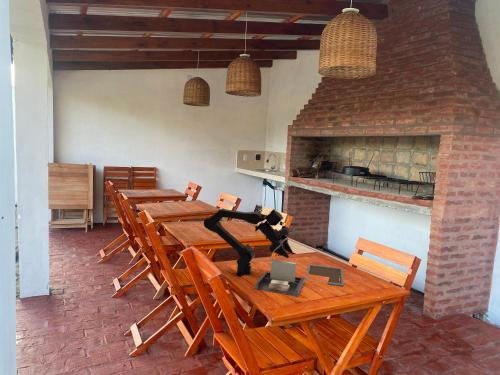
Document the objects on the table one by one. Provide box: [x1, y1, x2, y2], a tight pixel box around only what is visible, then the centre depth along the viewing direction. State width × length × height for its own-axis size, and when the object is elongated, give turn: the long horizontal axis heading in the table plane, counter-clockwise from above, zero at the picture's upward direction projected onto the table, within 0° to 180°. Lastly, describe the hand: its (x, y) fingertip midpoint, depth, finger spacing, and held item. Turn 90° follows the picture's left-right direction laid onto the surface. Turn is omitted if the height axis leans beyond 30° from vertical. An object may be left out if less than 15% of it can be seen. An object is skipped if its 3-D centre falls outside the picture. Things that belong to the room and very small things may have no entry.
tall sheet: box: [270, 259, 297, 282], centre depth 193 cm, size 12×2×11 cm, turn 73°
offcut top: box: [270, 280, 288, 288], centre depth 187 cm, size 8×4×2 cm, turn 79°
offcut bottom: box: [269, 283, 290, 292], centre depth 187 cm, size 9×5×2 cm, turn 73°
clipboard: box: [305, 263, 345, 288], centre depth 214 cm, size 19×2×30 cm
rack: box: [254, 270, 306, 298], centre depth 190 cm, size 20×19×4 cm
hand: (290, 255), depth 198 cm, fingers open, 9 cm apart
